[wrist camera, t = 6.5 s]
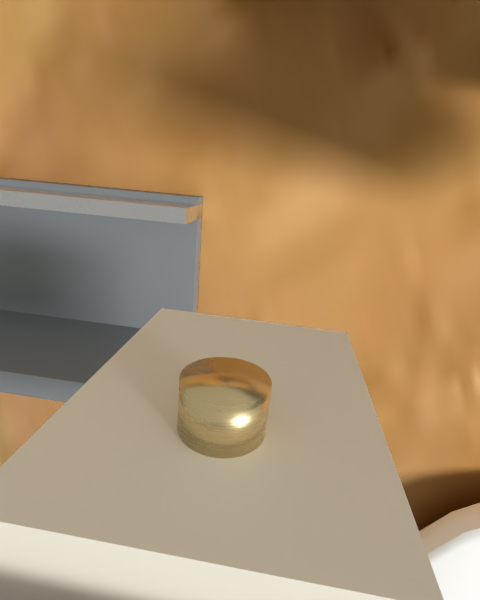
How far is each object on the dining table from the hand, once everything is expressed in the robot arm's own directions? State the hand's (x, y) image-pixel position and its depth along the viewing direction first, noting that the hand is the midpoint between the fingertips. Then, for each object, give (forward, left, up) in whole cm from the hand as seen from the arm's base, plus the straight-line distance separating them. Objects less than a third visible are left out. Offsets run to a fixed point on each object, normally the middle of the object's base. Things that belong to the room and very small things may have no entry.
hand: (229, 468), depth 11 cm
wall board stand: (0, +17, -19) cm, 26 cm away
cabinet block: (0, 0, -3) cm, 3 cm away
